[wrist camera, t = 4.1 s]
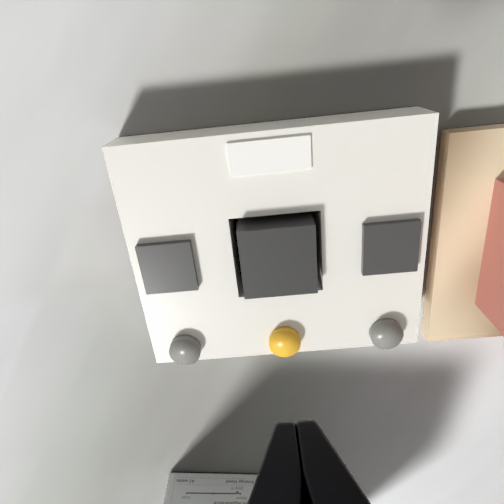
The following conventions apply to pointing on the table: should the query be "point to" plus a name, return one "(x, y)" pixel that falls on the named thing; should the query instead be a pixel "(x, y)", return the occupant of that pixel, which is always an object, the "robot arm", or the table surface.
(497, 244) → the pink block
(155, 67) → the table surface
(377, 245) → the panel
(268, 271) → the dark grey block
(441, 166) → the pad
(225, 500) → the light bulb box
